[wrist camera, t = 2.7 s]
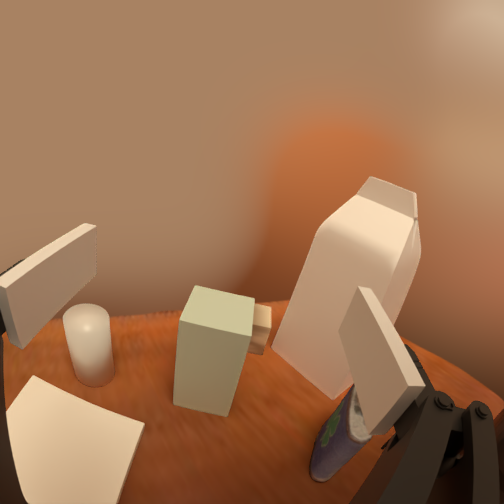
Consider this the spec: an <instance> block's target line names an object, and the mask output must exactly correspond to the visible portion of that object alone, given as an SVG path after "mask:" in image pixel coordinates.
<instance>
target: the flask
mask: <svg viewBox="0 0 504 504" xmlns="http://www.w3.org/2000/svg"><path fill="white" fill-rule="evenodd" d="M371 438H372V435H368V433H367V429H366V425H365V421H364V417H363V414H362V410H361V406H360V403H359V399H358V395H357V392H356V388H355V385H354V384H353V386H352V387H351V388H350V390H349V391H348V393H347V394H346V396H345V397H344V399H343V400H342V401H341V403H340V405H339V406H338V407H337V409H336V410H335V412H334V413H333V414H332V415H331V416H330V418H329V419H328V420H327V421H326V422H325V424H324V425H323V426H322V428H321V430H320V431H319V433H318V436H317V438H316V441H315V443H314V449H313V453H312V456H311V457H312V458H311V461H310V466H309V468H310V469H309V470H310V475H311V478H313V480H315V479H316V480H315V481H319V482H325V481H327V480H329V479H330V478H331V477H332V476H333V475H334V474H335V473H336V472H337V471H338V470H339V469H340V468H341V467H342V466H343V465H344V464H346V463H347V462H348V461H349V460H350V459H351V458H352V457H353V456H354V455H355V454H356V453H357V452H358V451H359V450H360V449H361V448H362V447H363V446H364V445H365V444H366V443H367V442H368V441H370V440H371Z"/></svg>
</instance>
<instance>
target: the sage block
mask: <svg viewBox="0 0 504 504" xmlns="http://www.w3.org/2000/svg"><path fill="white" fill-rule="evenodd" d="M254 301H255V299H254V298H250V297H245V296H240V295H236V294H231V293H227V292H222V291H218V290H214V289H209V288H205V287H201V286H197V285H195V287H194V289H193V291H192V293H191V295H190V297H189V300H188V302H187V304H186V306H185V308H184V311H183V313H182V315H181V317H180V319H179V328H178V338H177V350H176V363H175V377H174V393H173V405H177V406H181V407H185V408H189V409H193V410H197V411H202V412H206V413H211V414H215V415H220V416H225V417H228V414H229V411H230V407H231V404H232V401H233V397H234V394H235V391H236V387H237V384H238V381H239V377H240V374H241V371H242V367H243V364H244V361H245V357H246V354H247V350H248V347H249V343H250V340H251V336H252V325H253V313H254Z"/></svg>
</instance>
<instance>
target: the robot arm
mask: <svg viewBox="0 0 504 504" xmlns="http://www.w3.org/2000/svg"><path fill="white" fill-rule="evenodd" d="M96 234H97V226H95V225H91V224H87V223H84V224H82V225H81V226H79V227H77V228H75V229H74V230H72V231H70V232H69V233H67V234H65V235H63V236H62V237H60V238H58V239H57V240H55V241H53V242H52V243H50V244H49V245H47V246H45V247H44V248H42V249H41V250H39V251H37V252H36V253H34V254H33V255H31V256H30V257H28V258H26V259H23V260H20V261H19V262H18V263H16V264H14V265H13V267H10V268H9V269H7V271H4V272H3V273H1V274H0V504H28V503H27V501H26V500H25V498H24V496H23V493H22V490H21V487H20V483H19V479H18V476H17V472H16V467H15V463H14V459H13V454H12V449H11V444H10V438H9V431H8V425H7V417H6V408H5V396H4V378H3V338H2V334H3V333H4V332H5V331H6V332H7V335H8V338H9V341H10V343H12V344H14V345H15V346H17V347H19V348H20V349H22V350H23V349H24V347H25V346H26V345H27V344H28V343H29V342H30V341H31V340H32V339H33V338H34V336H35V335H36V334H37V333H38V332H39V331H40V330H41V329H42V328H43V327H44V326H45V325H46V324H47V323H48V322H49V321H50V319H51V318H52V317H53V316H54V315H55V314H56V313H57V312H58V311H59V310H60V309H61V308H62V307H63V306H64V305H65V304H66V303H67V302H68V301H69V300H70V299H71V298H72V297H73V296H74V295H75V294H76V293H78V292H79V290H81V289H82V288H83V287H84V286H85V285H86V284H87V283H88V282H89V281H90V280H91V279H92V278H93V277H94V276H96V274H97V270H96V269H97V268H96ZM338 332H339V335H340V339H341V342H342V345H343V348H344V351H345V355H346V358H347V361H348V364H349V368H350V371H351V375H352V378H353V381H354V385H355V388H356V392H357V395H358V399H359V403H360V406H361V410H362V414H363V417H364V421H365V425H366V429H367V433H368V435H383V434H386V433H387V432H388V431H389V429H390V428H391V427H392V426H393V425H394V428H395V431H396V433H395V434H394V435H393V436H392V437H391V438H390V439H389V440H388V441H387V442H386V443H385V444H384V445H383V446H382V447H381V449H384V448H385V447H386V448H385V449H384V451H383V453H382V455H381V456H380V458H379V460H378V461H377V463H376V465H375V466H374V468H373V469H372V471H371V472H370V474H369V476H368V477H367V479H366V480H365V482H364V483H363V485H362V486H361V487H360V489H359V490H358V492H357V493H356V495H355V496H354V497H353V499H352V500H351V501H350V503H349V504H504V409H503V410H502V411H501V412H500V413H499V414H498V415H497V417H496V418H495V419H494V420H493V416H492V413H491V411H490V409H489V407H488V406H487V405H486V404H484V403H482V402H480V401H473V402H472V403H471V404H470V405H469V406H468V407H467V409H462V408H458V407H455V404H454V402H453V400H452V399H451V398H450V397H449V396H448V395H447V394H445V393H443V392H441V391H435V389H434V387H433V386H432V384H431V382H430V380H429V378H428V376H427V374H426V372H425V370H424V369H423V367H422V365H421V363H420V362H419V359H418V358H417V356H416V354H415V352H414V351H413V350H412V349H411V348H410V347H409V346H408V345H407V344H403V342H402V340H401V339H400V337H399V335H398V333H397V332H396V330H395V328H394V326H393V325H392V323H391V321H390V319H389V318H388V316H387V314H386V313H385V311H384V309H383V307H382V306H381V304H380V302H379V301H378V299H377V297H376V296H375V294H374V293H373V291H372V289H370V288H365V287H361V286H358V287H357V289H356V291H355V294H354V296H353V299H352V301H351V303H350V305H349V308H348V310H347V312H346V315H345V317H344V319H343V321H342V323H341V325H340V328H339V330H338Z"/></svg>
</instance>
